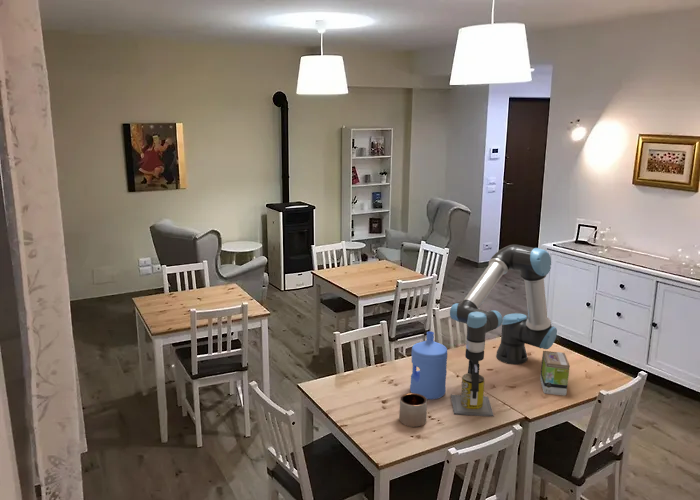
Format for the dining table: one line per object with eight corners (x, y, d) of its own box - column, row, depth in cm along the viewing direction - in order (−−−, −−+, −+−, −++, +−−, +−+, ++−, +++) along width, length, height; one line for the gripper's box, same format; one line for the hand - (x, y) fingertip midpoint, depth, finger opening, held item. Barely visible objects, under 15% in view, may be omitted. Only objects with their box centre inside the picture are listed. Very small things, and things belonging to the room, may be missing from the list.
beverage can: (468, 397, 251) (470, 371, 249) (486, 404, 245) (488, 378, 242) (456, 403, 245) (458, 377, 242) (474, 411, 239) (476, 384, 236)
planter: (397, 414, 238) (397, 393, 235) (423, 413, 239) (424, 392, 236) (401, 428, 227) (402, 406, 225) (428, 427, 228) (429, 405, 226)
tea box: (567, 396, 255) (570, 365, 252) (543, 393, 257) (546, 362, 254) (561, 381, 269) (564, 351, 266) (539, 379, 271) (542, 349, 268)
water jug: (448, 387, 262) (451, 328, 256) (441, 402, 248) (445, 341, 241) (414, 381, 267) (416, 324, 261) (406, 396, 253) (408, 336, 246)
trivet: (450, 396, 254) (450, 394, 253) (487, 398, 252) (488, 396, 252) (453, 414, 238) (454, 412, 238) (493, 416, 237) (493, 414, 237)
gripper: (463, 338, 251) (460, 385, 256) (468, 360, 229) (465, 411, 233) (480, 339, 250) (477, 386, 255) (488, 361, 228) (484, 412, 233)
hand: (471, 398), depth 244 cm, fingers open, 11 cm apart
